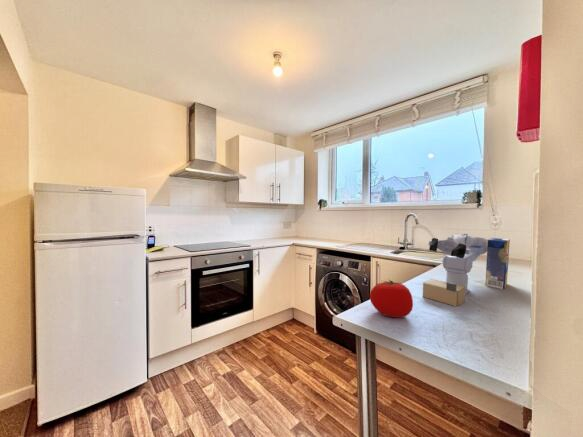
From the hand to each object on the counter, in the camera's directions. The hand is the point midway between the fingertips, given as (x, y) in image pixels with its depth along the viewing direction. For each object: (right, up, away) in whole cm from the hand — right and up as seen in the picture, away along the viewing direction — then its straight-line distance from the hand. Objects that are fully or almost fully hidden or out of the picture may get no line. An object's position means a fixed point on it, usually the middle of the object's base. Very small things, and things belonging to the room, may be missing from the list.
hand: (441, 250), depth 93 cm
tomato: (-23, -21, -9) cm, 33 cm away
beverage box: (+41, -20, +23) cm, 51 cm away
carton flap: (0, -20, +2) cm, 21 cm away
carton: (+4, -20, +5) cm, 21 cm away
